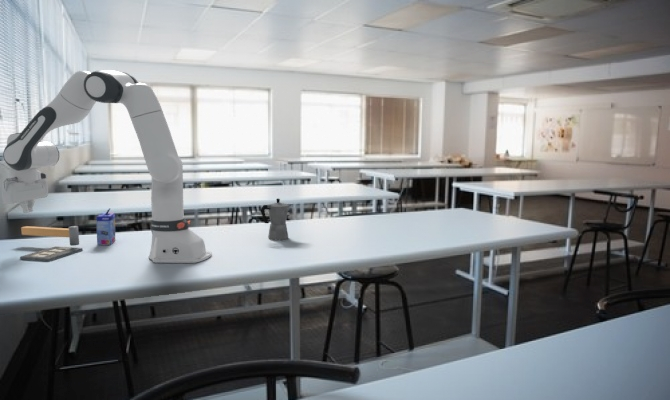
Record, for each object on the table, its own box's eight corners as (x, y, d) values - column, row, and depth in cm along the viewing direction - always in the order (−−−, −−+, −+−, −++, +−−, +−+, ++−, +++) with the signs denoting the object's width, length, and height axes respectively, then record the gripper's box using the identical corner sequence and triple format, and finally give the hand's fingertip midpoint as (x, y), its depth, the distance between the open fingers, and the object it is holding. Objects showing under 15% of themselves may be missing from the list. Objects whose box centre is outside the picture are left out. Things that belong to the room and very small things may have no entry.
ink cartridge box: (111, 245, 183) (109, 210, 181) (96, 245, 181) (94, 210, 179) (116, 240, 192) (114, 206, 190) (102, 240, 191) (100, 207, 189)
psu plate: (82, 250, 173) (82, 247, 173) (49, 261, 157) (48, 257, 157) (55, 248, 175) (55, 245, 175) (20, 259, 159) (19, 255, 159)
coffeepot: (284, 234, 208) (284, 196, 205) (296, 238, 200) (296, 198, 198) (255, 238, 198) (255, 198, 195) (266, 242, 191) (266, 201, 188)
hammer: (75, 245, 175) (73, 227, 174) (21, 242, 179) (20, 224, 178) (81, 243, 178) (79, 226, 177) (28, 240, 182) (27, 223, 181)
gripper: (12, 178, 157) (16, 217, 159) (49, 173, 178) (53, 208, 180) (-6, 178, 157) (-1, 217, 159) (34, 174, 178) (37, 208, 180)
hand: (28, 212), depth 170 cm, fingers closed
